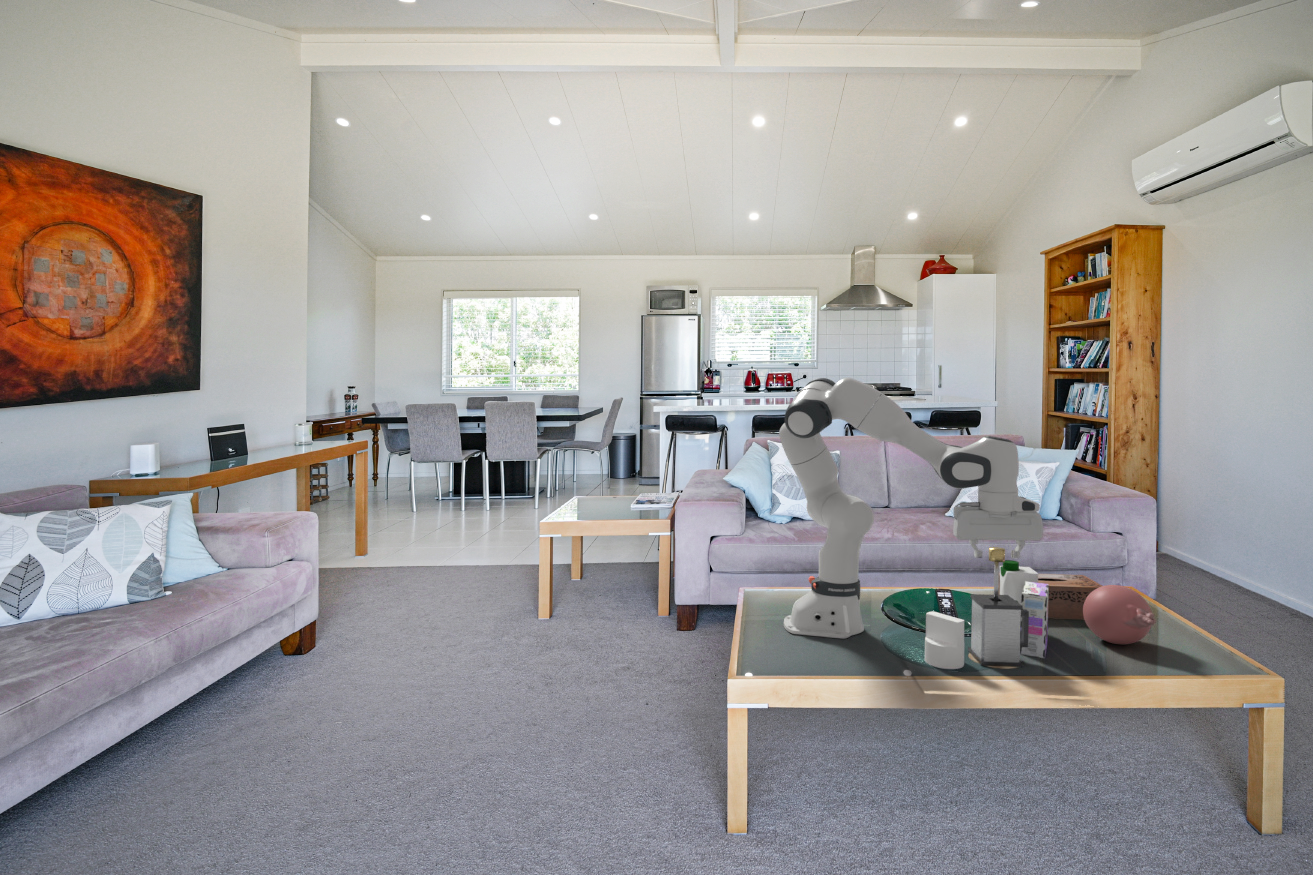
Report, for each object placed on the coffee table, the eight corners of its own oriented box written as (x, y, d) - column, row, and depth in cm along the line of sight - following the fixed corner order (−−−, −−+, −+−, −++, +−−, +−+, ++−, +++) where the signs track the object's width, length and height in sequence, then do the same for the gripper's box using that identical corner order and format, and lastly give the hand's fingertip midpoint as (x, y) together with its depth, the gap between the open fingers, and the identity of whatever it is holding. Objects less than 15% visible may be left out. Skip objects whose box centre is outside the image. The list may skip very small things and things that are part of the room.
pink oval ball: (1117, 660, 171) (1119, 599, 170) (1069, 632, 191) (1071, 578, 190) (1179, 660, 171) (1181, 599, 170) (1125, 632, 191) (1127, 578, 190)
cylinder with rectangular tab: (971, 665, 168) (972, 618, 168) (950, 674, 163) (951, 625, 162) (938, 654, 176) (939, 608, 175) (917, 662, 171) (917, 615, 170)
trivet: (977, 669, 166) (978, 667, 166) (961, 651, 178) (961, 649, 178) (1030, 671, 164) (1030, 669, 164) (1010, 652, 176) (1010, 650, 176)
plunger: (987, 618, 168) (988, 551, 167) (978, 611, 174) (979, 545, 173) (1013, 619, 167) (1014, 551, 166) (1003, 611, 173) (1004, 546, 172)
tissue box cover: (1082, 606, 215) (1083, 574, 215) (1105, 621, 201) (1106, 587, 200) (995, 603, 219) (995, 572, 219) (1011, 617, 205) (1011, 584, 204)
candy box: (1045, 660, 171) (1047, 596, 170) (1019, 656, 174) (1020, 592, 173) (1048, 643, 183) (1049, 582, 182) (1023, 639, 186) (1024, 579, 185)
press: (981, 665, 167) (982, 605, 166) (968, 651, 176) (969, 593, 175) (1034, 667, 165) (1036, 606, 164) (1018, 652, 175) (1019, 594, 174)
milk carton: (995, 626, 196) (997, 557, 195) (1029, 628, 195) (1031, 558, 193) (1004, 637, 188) (1006, 565, 187) (1040, 639, 186) (1042, 566, 185)
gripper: (957, 503, 167) (956, 559, 167) (1046, 504, 164) (1045, 561, 165) (949, 499, 173) (948, 553, 174) (1035, 500, 170) (1034, 555, 171)
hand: (996, 557), depth 169 cm, fingers open, 7 cm apart
